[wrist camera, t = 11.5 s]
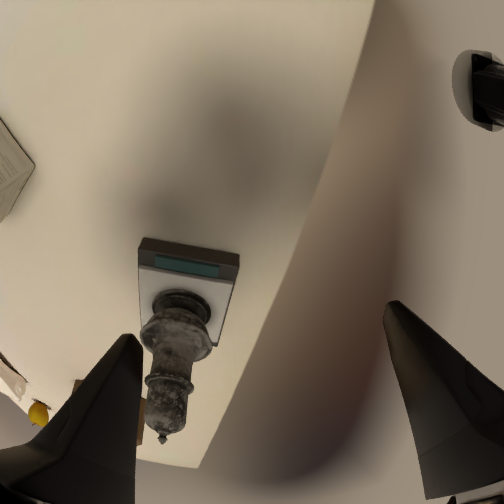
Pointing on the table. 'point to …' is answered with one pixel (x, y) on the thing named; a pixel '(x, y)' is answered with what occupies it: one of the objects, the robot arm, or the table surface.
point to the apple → (38, 414)
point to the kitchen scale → (187, 278)
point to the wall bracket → (11, 382)
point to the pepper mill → (173, 356)
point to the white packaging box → (11, 171)
